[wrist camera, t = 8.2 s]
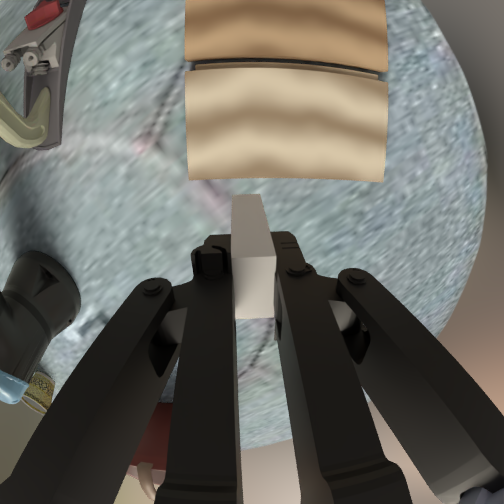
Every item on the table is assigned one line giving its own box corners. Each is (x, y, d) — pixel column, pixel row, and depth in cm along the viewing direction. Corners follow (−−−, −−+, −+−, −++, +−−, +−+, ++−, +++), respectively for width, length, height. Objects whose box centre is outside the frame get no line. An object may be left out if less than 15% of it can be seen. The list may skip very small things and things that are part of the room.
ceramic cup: (49, 370, 53) (35, 399, 44) (65, 391, 58) (55, 419, 49) (19, 362, 53) (6, 388, 44) (36, 383, 58) (25, 408, 49)
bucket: (211, 437, 68) (208, 512, 46) (138, 426, 66) (125, 498, 44) (214, 400, 56) (210, 503, 34) (120, 385, 54) (96, 480, 32)
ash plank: (375, 178, 31) (383, 182, 30) (192, 176, 31) (189, 180, 29) (380, 78, 26) (387, 76, 24) (188, 68, 25) (184, 64, 23)
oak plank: (380, 72, 25) (387, 71, 23) (188, 61, 25) (184, 59, 23) (377, 3, 20) (384, -1, 18) (189, -11, 20) (186, -17, 18)
